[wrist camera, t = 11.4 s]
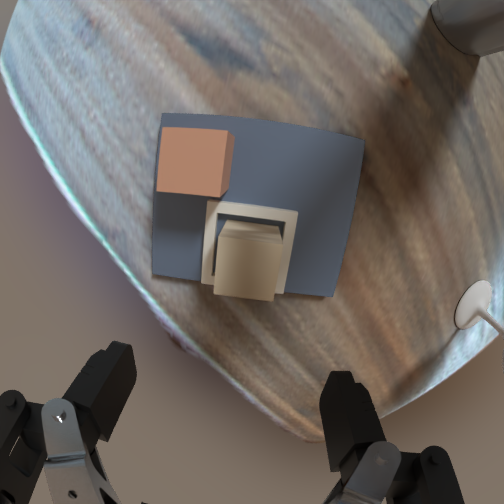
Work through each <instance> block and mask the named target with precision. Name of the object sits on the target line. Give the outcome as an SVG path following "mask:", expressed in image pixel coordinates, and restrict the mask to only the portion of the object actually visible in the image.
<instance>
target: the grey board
mask: <svg viewBox="0 0 504 504" xmlns="http://www.w3.org/2000/svg"><path fill="white" fill-rule="evenodd" d="M163 127H179V128H200V129H215V130H227V131H229V132H230V133H231V134H232V135H233V136H234V137H235V141H234V149H233V157H232V165H231V173H230V181H229V189H228V190H227V191H226V192H225V193H224V194H223V195H222V196H221V197H212V196H203V195H193V194H183V193H172V192H160V191H157V177H158V165H159V154H160V144H161V136H162V128H163ZM364 146H365V140H363V139H359V138H355V137H351V136H347V135H343V134H339V133H334V132H330V131H325V130H320V129H315V128H310V127H305V126H299V125H294V124H288V123H281V122H275V121H268V120H260V119H252V118H243V117H232V116H220V115H205V114H180V113H162V117H161V125H160V133H159V141H158V151H157V161H156V172H155V186H154V204H153V232H152V274H157V275H163V276H169V277H176V278H182V279H189V280H196V281H201V284H208V285H214V281H215V269H216V257H217V246H218V236H219V234H220V232H221V230H222V228H223V226H224V225H225V223H226V221H227V219H229V220H237V221H244V222H252V223H260V224H267V225H275V226H278V227H279V231H280V234H281V238H282V241H283V250H282V256H281V262H280V267H279V273H278V278H277V284H276V289H275V293H278V294H283V293H284V292H289V293H298V294H307V295H317V296H327V297H333V295H334V291H335V288H336V284H337V280H338V276H339V272H340V269H341V265H342V261H343V256H344V252H345V248H346V244H347V239H348V235H349V230H350V226H351V221H352V216H353V211H354V206H355V201H356V196H357V190H358V185H359V179H360V173H361V166H362V160H363V153H364Z"/></svg>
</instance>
